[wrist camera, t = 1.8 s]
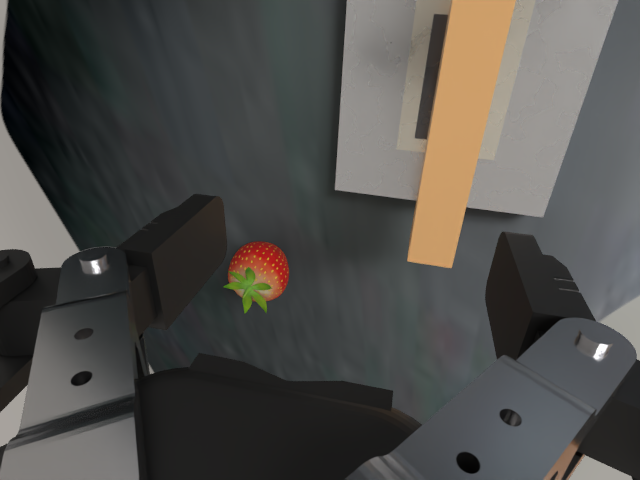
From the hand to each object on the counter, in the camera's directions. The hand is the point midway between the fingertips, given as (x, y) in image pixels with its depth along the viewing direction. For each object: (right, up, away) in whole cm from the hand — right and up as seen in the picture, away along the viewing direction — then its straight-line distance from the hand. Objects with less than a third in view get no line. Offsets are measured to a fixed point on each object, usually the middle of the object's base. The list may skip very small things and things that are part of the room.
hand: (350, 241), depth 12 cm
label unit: (+9, +12, +18) cm, 23 cm away
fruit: (-5, -1, +29) cm, 30 cm away
